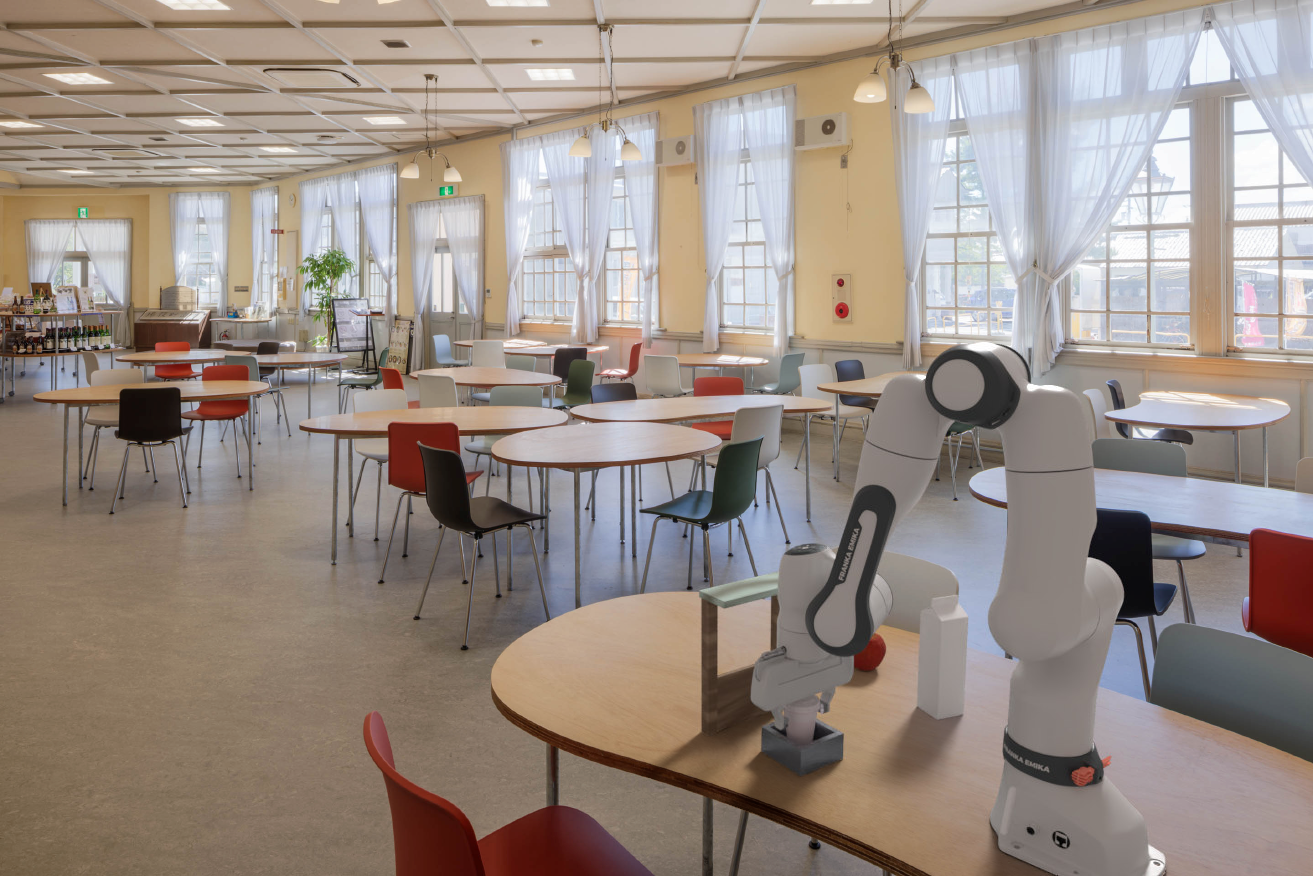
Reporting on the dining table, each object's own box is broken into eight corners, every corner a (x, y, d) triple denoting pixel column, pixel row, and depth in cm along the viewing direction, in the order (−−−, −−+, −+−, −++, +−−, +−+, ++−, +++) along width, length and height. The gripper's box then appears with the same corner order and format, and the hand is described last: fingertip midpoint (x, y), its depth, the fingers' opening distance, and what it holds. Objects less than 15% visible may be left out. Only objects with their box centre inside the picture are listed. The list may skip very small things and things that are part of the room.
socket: (843, 758, 144) (843, 733, 144) (800, 776, 139) (801, 750, 138) (802, 735, 152) (803, 711, 152) (761, 751, 147) (761, 726, 146)
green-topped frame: (805, 718, 158) (808, 580, 154) (723, 749, 148) (724, 601, 144) (779, 704, 164) (781, 570, 160) (699, 732, 154) (699, 590, 149)
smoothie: (819, 763, 143) (821, 683, 141) (780, 761, 144) (781, 681, 141) (817, 744, 149) (819, 667, 147) (780, 742, 150) (781, 665, 148)
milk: (916, 706, 163) (920, 593, 159) (943, 701, 165) (947, 589, 161) (937, 721, 157) (941, 604, 154) (964, 715, 159) (969, 599, 156)
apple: (843, 660, 184) (844, 624, 183) (880, 660, 183) (881, 625, 182) (849, 675, 176) (850, 639, 175) (888, 676, 176) (890, 639, 175)
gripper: (768, 662, 134) (767, 745, 136) (861, 633, 145) (858, 710, 148) (742, 648, 139) (742, 729, 142) (833, 621, 151) (831, 696, 153)
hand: (802, 719), depth 145 cm, fingers open, 8 cm apart
